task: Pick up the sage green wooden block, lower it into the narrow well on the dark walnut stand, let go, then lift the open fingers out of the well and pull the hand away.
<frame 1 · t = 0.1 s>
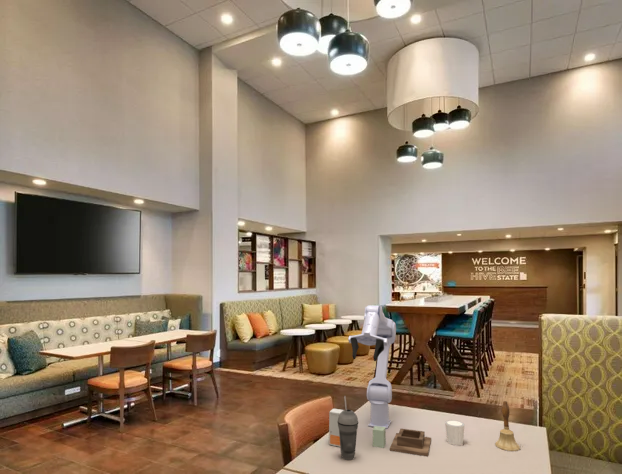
hand: (364, 358, 151), 32 cm above the table, tool tilted 50°, fingers open, 7 cm apart
block: (379, 445, 153), on the table
white ribbed cylinder: (455, 442, 156), on the table
skincare box: (338, 445, 153), on the table
hand bell: (507, 447, 153), on the table
beverage cup: (347, 457, 143), on the table
well stand: (411, 445, 153), on the table
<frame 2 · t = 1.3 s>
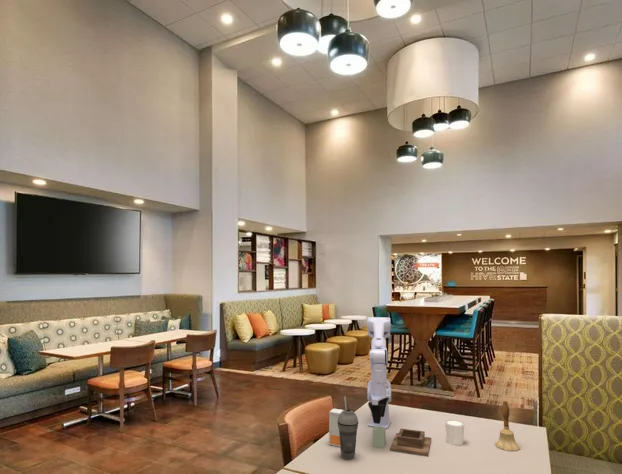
hand: (378, 419, 154), 9 cm above the table, tool pointing down, fingers open, 7 cm apart
nothing on the table moved.
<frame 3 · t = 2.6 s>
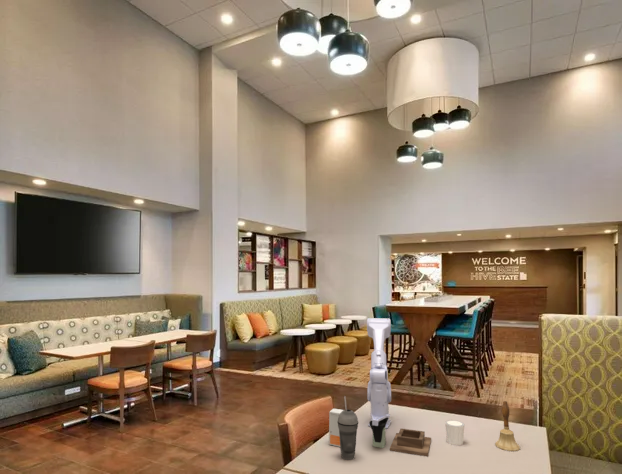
hand: (379, 439, 153), 2 cm above the table, tool pointing down, fingers closed on block, 4 cm apart
block: (379, 445, 153), on the table, touching gripper
everything else where it was.
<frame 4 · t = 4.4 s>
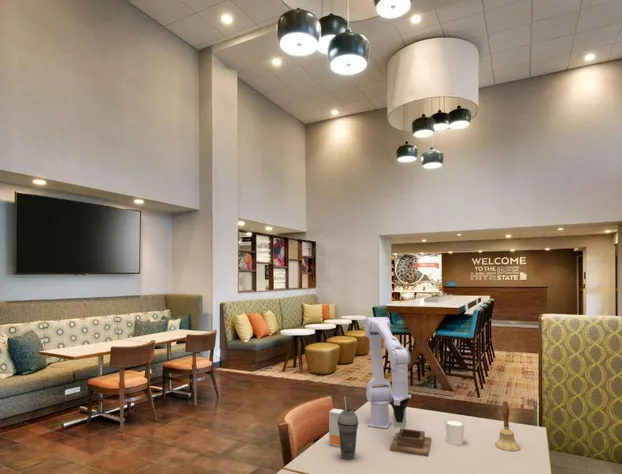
hand: (400, 420, 154), 9 cm above the table, tool pointing down, fingers closed on block, 4 cm apart
block: (399, 425, 154), point 7 cm above the table, touching gripper
everything else where it was.
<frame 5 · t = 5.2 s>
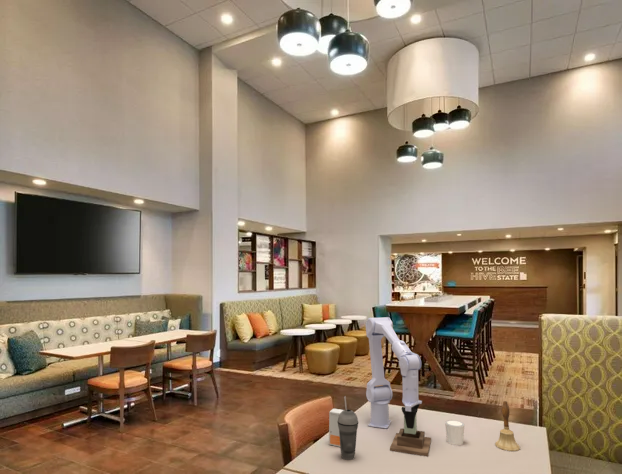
hand: (410, 426, 154), 7 cm above the table, tool pointing down, fingers closed on block, 4 cm apart
block: (410, 431, 153), point 5 cm above the table, touching gripper
everything else where it was.
when the fingers open (5 cm above the table, at t = 6.0 s): block drops 2 cm, resting on well stand.
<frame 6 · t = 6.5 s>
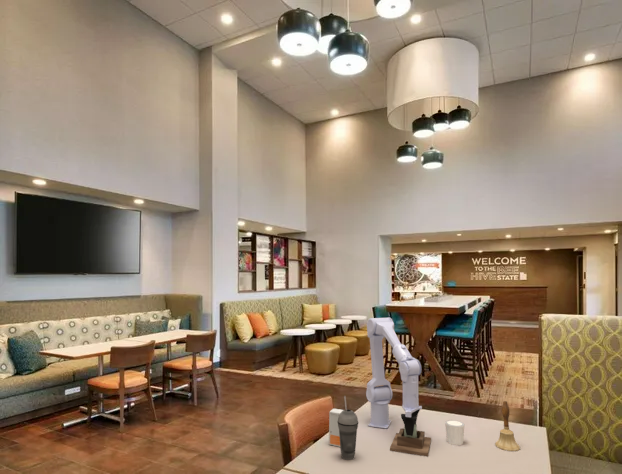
hand: (411, 431, 153), 5 cm above the table, tool pointing down, fingers open, 7 cm apart
block: (410, 442, 153), point 1 cm above the table, touching well stand
everything else where it was.
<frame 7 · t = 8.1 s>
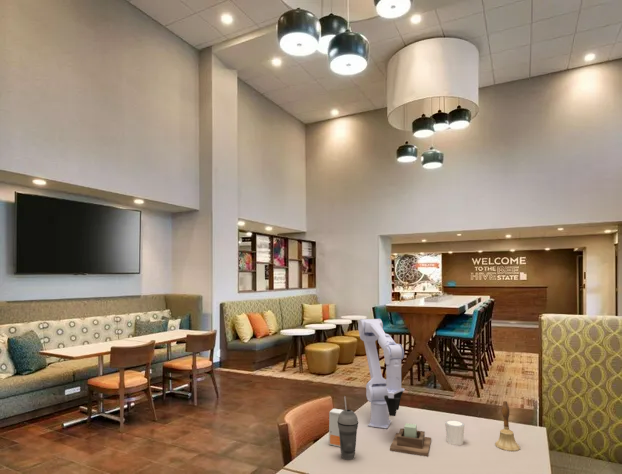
hand: (394, 412, 161), 9 cm above the table, tool pointing down, fingers open, 7 cm apart
nothing on the table moved.
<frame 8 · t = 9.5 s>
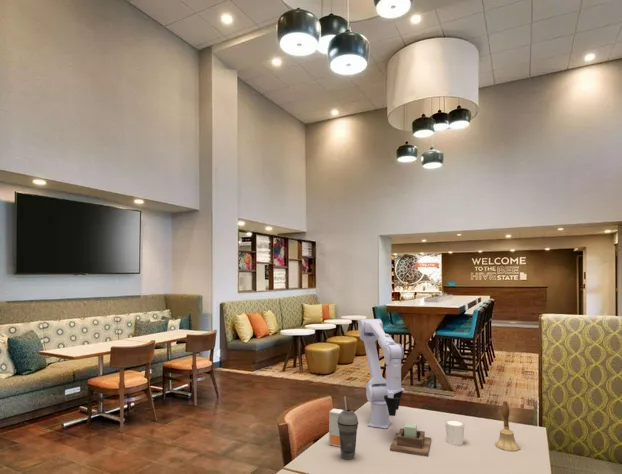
hand: (393, 412, 161), 9 cm above the table, tool pointing down, fingers open, 7 cm apart
nothing on the table moved.
at the end: block 0.1 cm off-centre on the well stand, point 1.0 cm above the well stand's base; block tilted 0°; the gripper is holding nothing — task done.
